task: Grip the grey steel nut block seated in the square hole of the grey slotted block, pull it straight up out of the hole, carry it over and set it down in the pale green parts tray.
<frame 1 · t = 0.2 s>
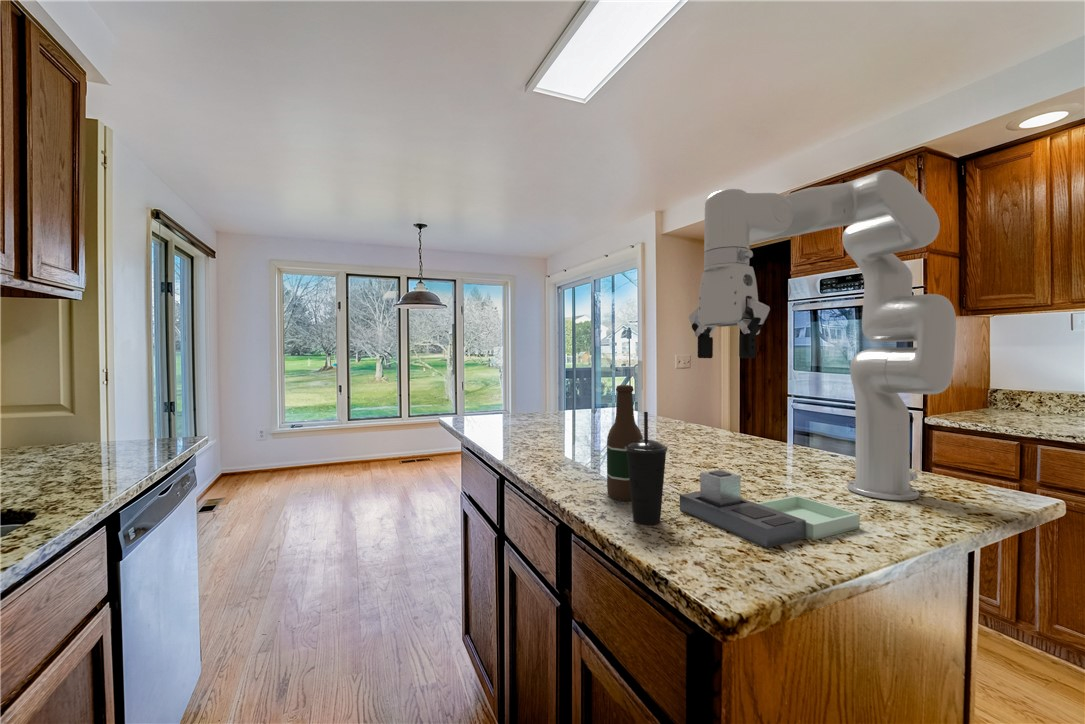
hand: (725, 358, 82), 30 cm above the countertop, fingers open, 9 cm apart
beer bottle: (625, 497, 99), on the countertop
drinking cup: (646, 521, 84), on the countertop
grey slotted block: (737, 522, 83), on the countertop
nut block: (720, 516, 87), resting in grey slotted block
parts tray: (804, 522, 83), on the countertop
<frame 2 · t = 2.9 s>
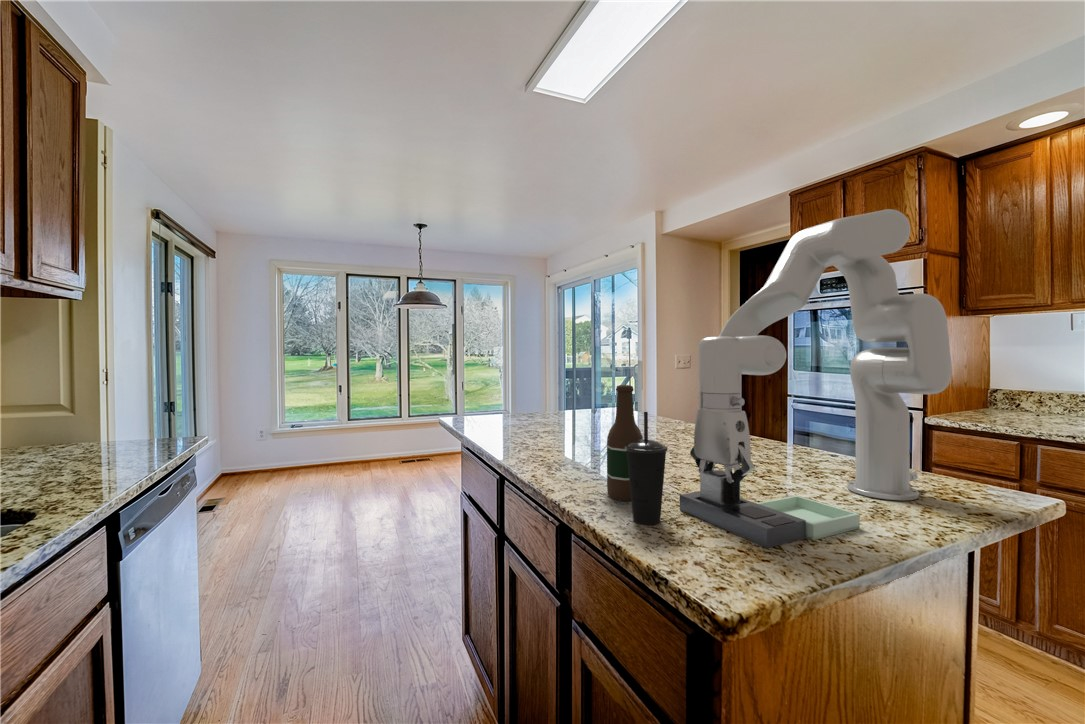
hand: (720, 497, 87), 3 cm above the countertop, fingers closed on nut block, 5 cm apart
nut block: (720, 516, 87), resting in grey slotted block, touching gripper
everything else where it was.
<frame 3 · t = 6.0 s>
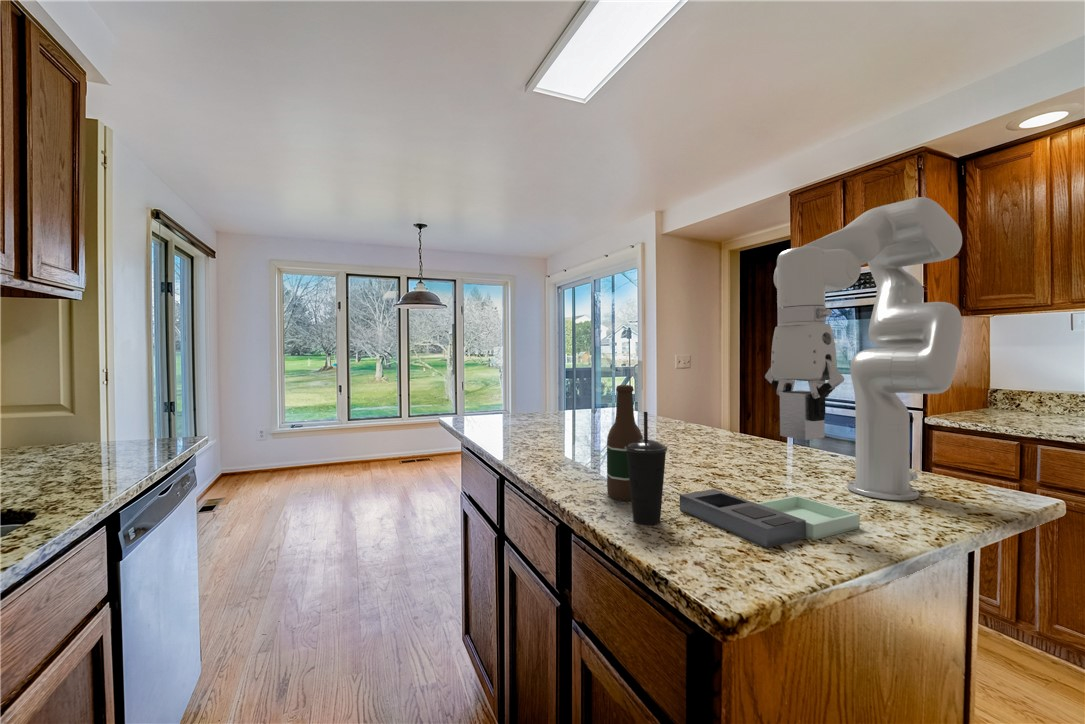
hand: (801, 417, 83), 19 cm above the countertop, fingers closed on nut block, 5 cm apart
nut block: (802, 436, 83), point 15 cm above the countertop, touching gripper
everything else where it was.
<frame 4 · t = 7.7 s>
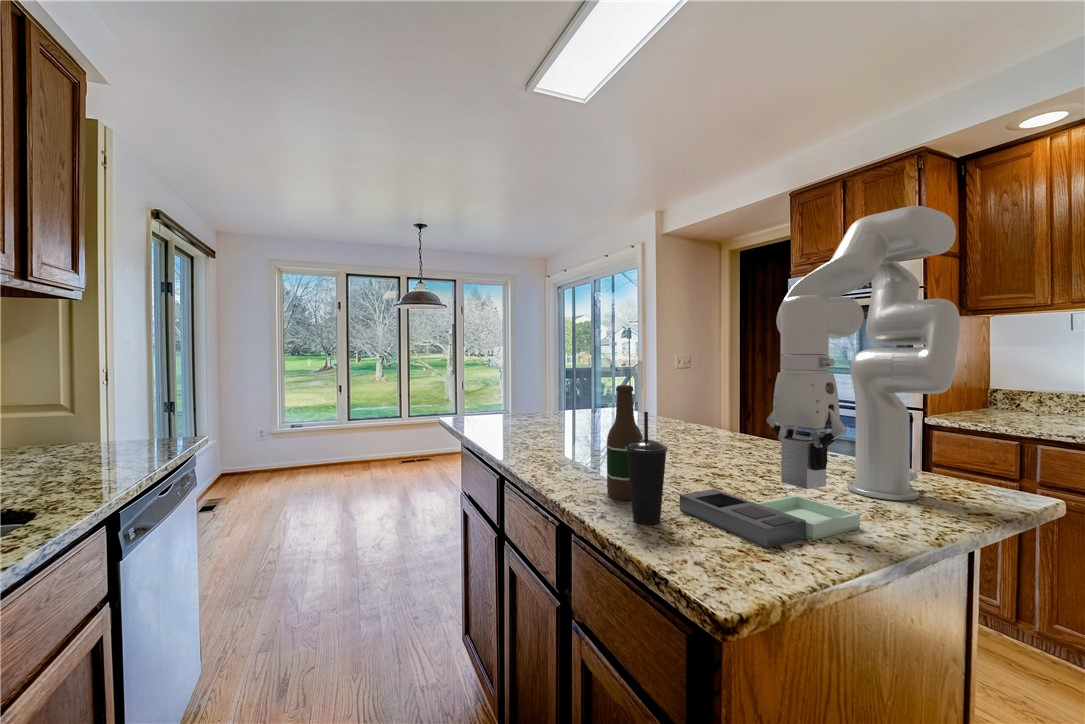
hand: (803, 465, 83), 10 cm above the countertop, fingers closed on nut block, 5 cm apart
nut block: (803, 484, 83), point 7 cm above the countertop, touching gripper
everything else where it was.
when the fingers open (6 cm above the countertop, at t = 9.0 s): nut block drops 2 cm, resting on parts tray.
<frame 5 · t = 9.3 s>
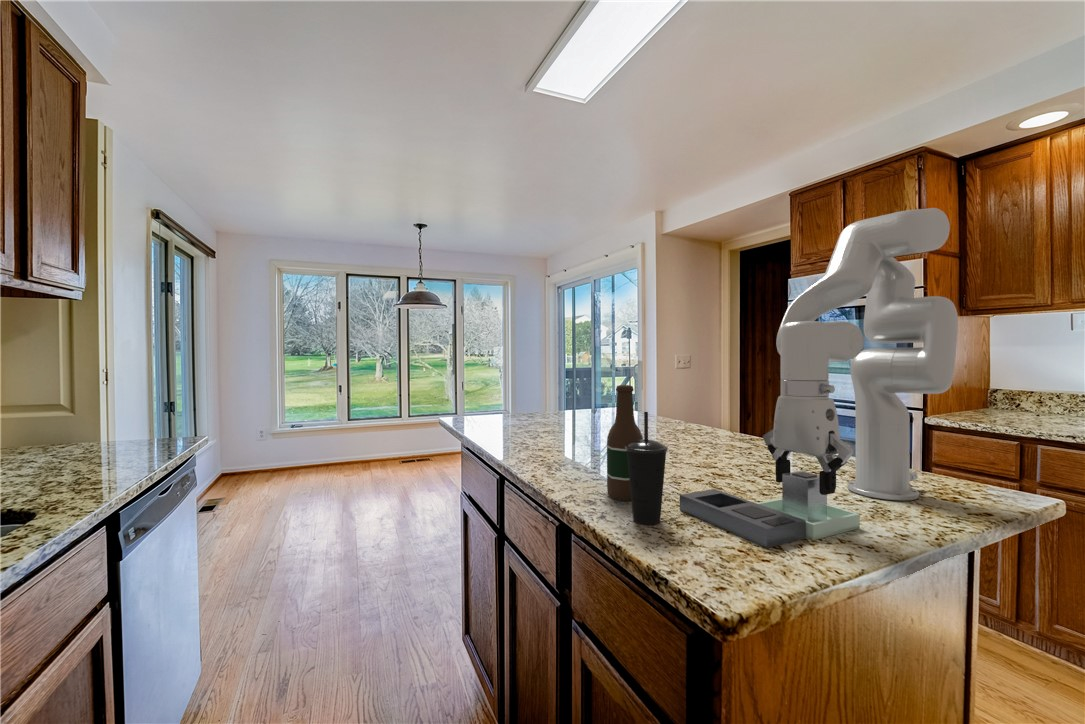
hand: (804, 486, 83), 6 cm above the countertop, fingers open, 8 cm apart
nut block: (804, 519, 83), resting on parts tray
everything else where it was.
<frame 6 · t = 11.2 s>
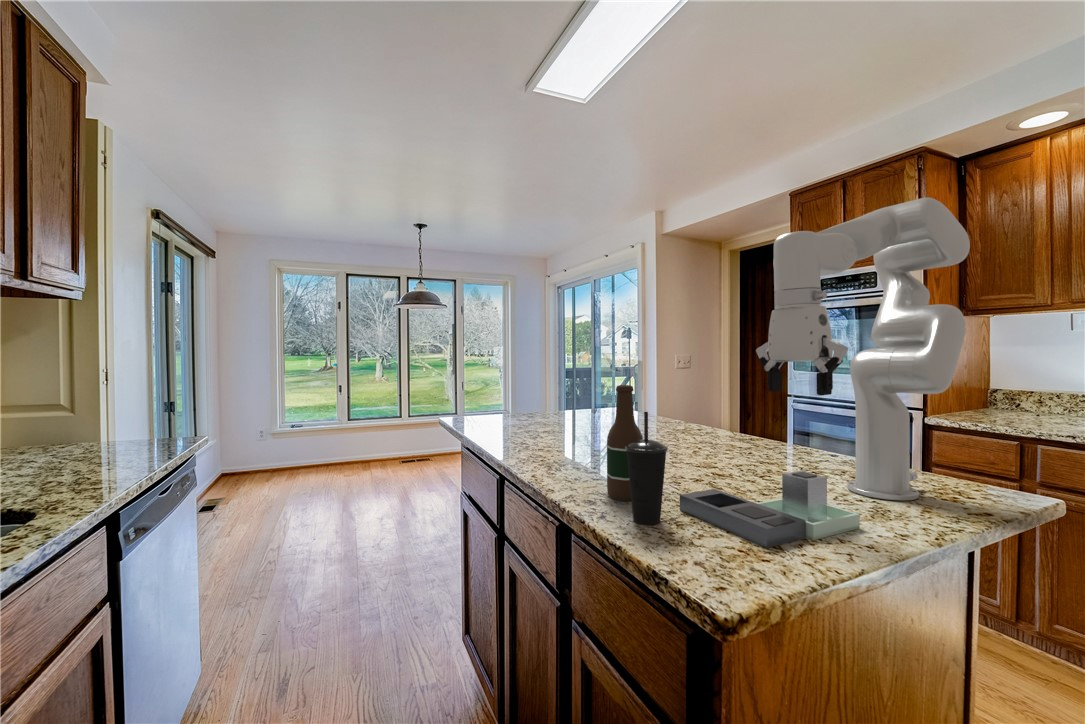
hand: (798, 392, 85), 23 cm above the countertop, fingers open, 9 cm apart
nothing on the countertop moved.
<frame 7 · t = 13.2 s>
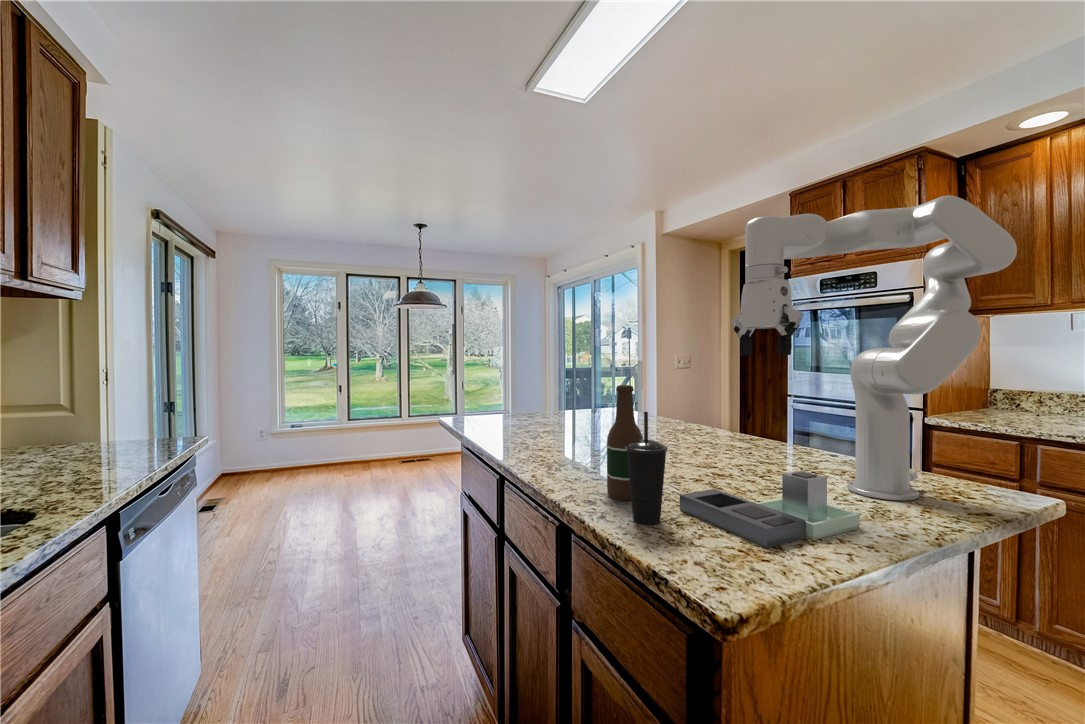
hand: (764, 355, 100), 30 cm above the countertop, fingers open, 9 cm apart
nothing on the countertop moved.
at the end: nut block inside the target area on the parts tray (0.1 cm from its centre), point 0.5 cm above the parts tray's base; nut block touching parts tray; the gripper is holding nothing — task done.
